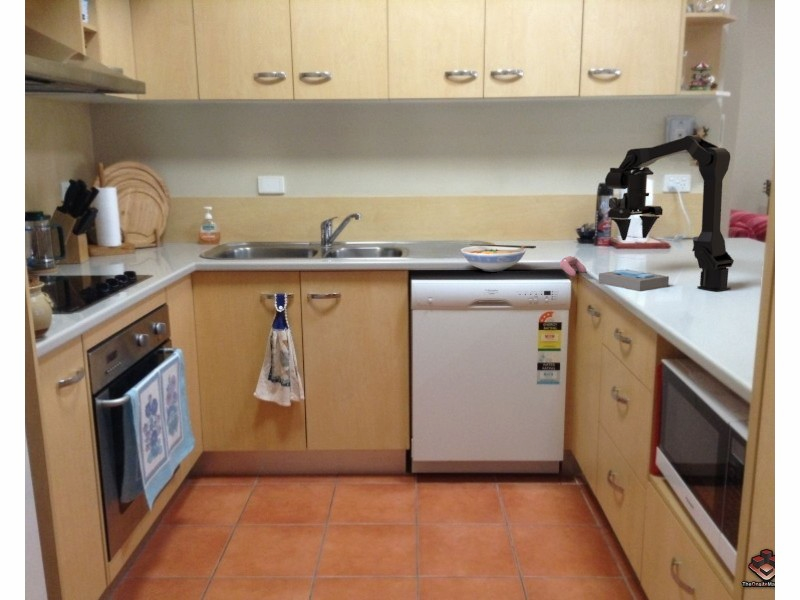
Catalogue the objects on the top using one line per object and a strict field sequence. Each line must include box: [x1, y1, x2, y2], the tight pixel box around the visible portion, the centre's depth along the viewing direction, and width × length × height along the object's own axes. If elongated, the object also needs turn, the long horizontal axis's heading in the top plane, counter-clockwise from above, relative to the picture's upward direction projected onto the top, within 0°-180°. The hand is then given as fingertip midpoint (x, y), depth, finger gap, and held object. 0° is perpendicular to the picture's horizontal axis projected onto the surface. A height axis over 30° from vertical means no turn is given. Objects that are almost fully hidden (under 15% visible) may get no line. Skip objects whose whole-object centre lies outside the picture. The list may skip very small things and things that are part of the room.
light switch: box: [598, 269, 670, 292], centre depth 200 cm, size 16×12×3 cm
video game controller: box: [559, 256, 587, 277], centre depth 221 cm, size 10×5×7 cm, turn 142°
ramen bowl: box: [460, 243, 537, 273], centre depth 232 cm, size 25×23×8 cm
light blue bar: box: [613, 268, 654, 278], centre depth 200 cm, size 4×12×4 cm, turn 29°
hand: (634, 239), depth 212 cm, fingers open, 9 cm apart
